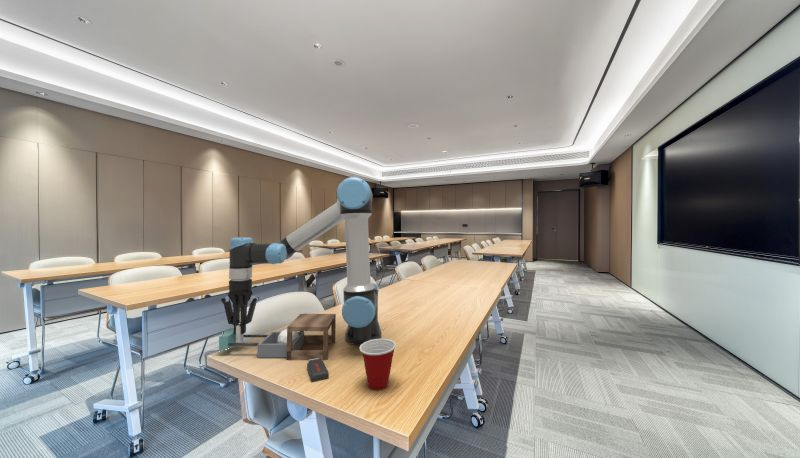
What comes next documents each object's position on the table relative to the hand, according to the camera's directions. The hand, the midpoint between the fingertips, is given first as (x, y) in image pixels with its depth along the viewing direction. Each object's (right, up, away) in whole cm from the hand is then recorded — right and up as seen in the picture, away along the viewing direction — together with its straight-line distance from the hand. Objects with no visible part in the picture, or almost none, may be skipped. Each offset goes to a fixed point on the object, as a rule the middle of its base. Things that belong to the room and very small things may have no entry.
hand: (239, 342), depth 106 cm
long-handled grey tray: (+8, -3, 0) cm, 9 cm away
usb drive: (+33, -4, -14) cm, 36 cm away
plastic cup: (+53, -4, -22) cm, 57 cm away
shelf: (+27, -4, +1) cm, 27 cm away
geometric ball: (+17, -4, +2) cm, 18 cm away
